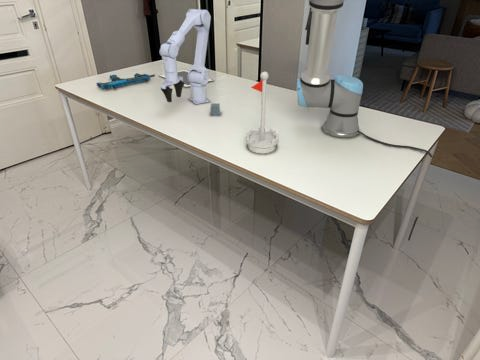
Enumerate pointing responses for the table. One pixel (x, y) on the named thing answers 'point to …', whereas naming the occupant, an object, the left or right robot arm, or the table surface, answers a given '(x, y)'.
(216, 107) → the block
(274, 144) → the flag stand
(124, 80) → the submachine gun
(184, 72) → the tablet
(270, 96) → the table surface
